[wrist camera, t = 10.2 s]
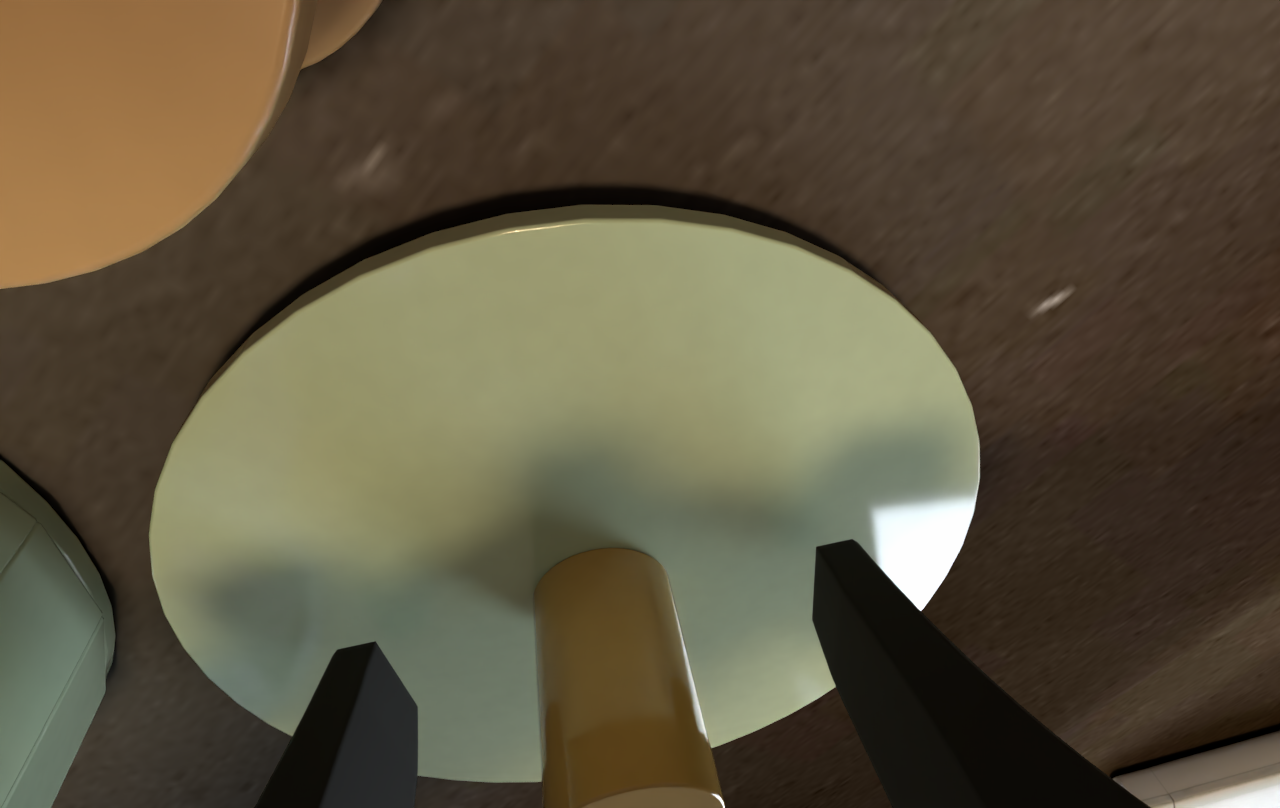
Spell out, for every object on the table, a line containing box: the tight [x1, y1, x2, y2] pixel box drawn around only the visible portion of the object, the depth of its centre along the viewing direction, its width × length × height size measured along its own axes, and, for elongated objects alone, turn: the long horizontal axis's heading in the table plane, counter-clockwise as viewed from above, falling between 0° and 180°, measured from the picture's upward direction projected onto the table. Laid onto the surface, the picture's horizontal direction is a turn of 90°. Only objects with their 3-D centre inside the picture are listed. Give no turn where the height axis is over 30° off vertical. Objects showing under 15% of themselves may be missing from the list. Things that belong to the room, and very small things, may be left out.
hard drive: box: [1112, 730, 1280, 808], centre depth 26 cm, size 2×8×12 cm
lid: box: [149, 205, 980, 808], centre depth 11 cm, size 14×14×5 cm
